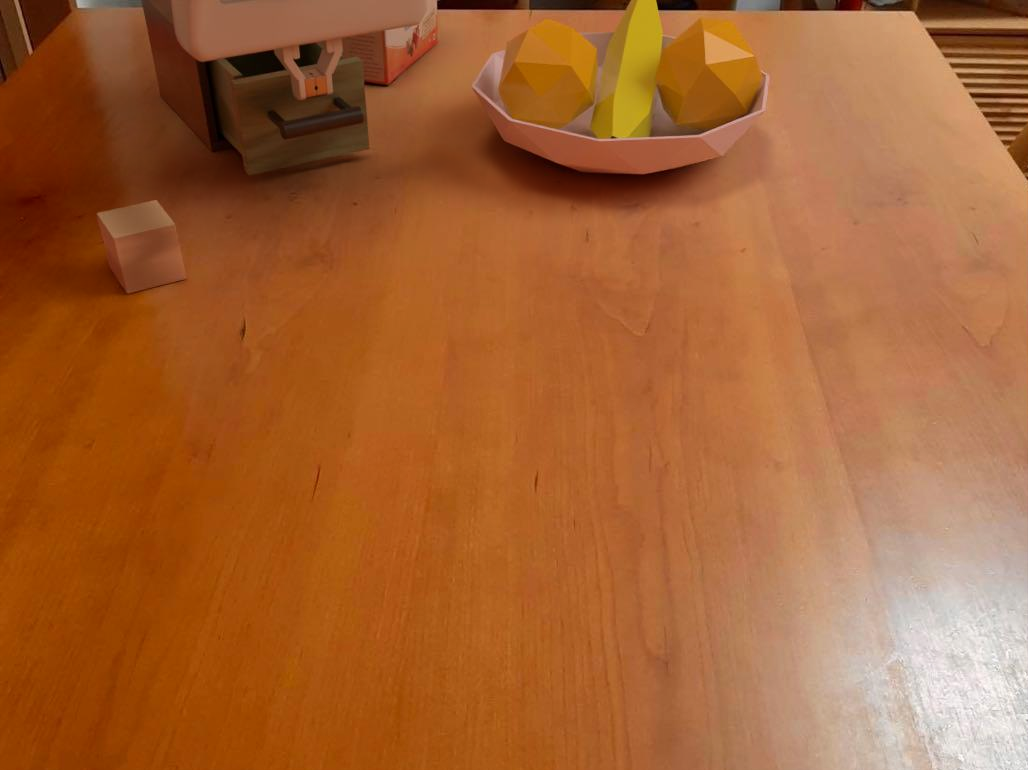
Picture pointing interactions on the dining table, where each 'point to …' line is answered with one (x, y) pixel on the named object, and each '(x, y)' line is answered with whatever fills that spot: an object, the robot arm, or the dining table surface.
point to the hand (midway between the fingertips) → (313, 95)
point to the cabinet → (181, 76)
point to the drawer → (287, 110)
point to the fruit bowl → (624, 93)
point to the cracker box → (393, 47)
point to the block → (142, 246)
